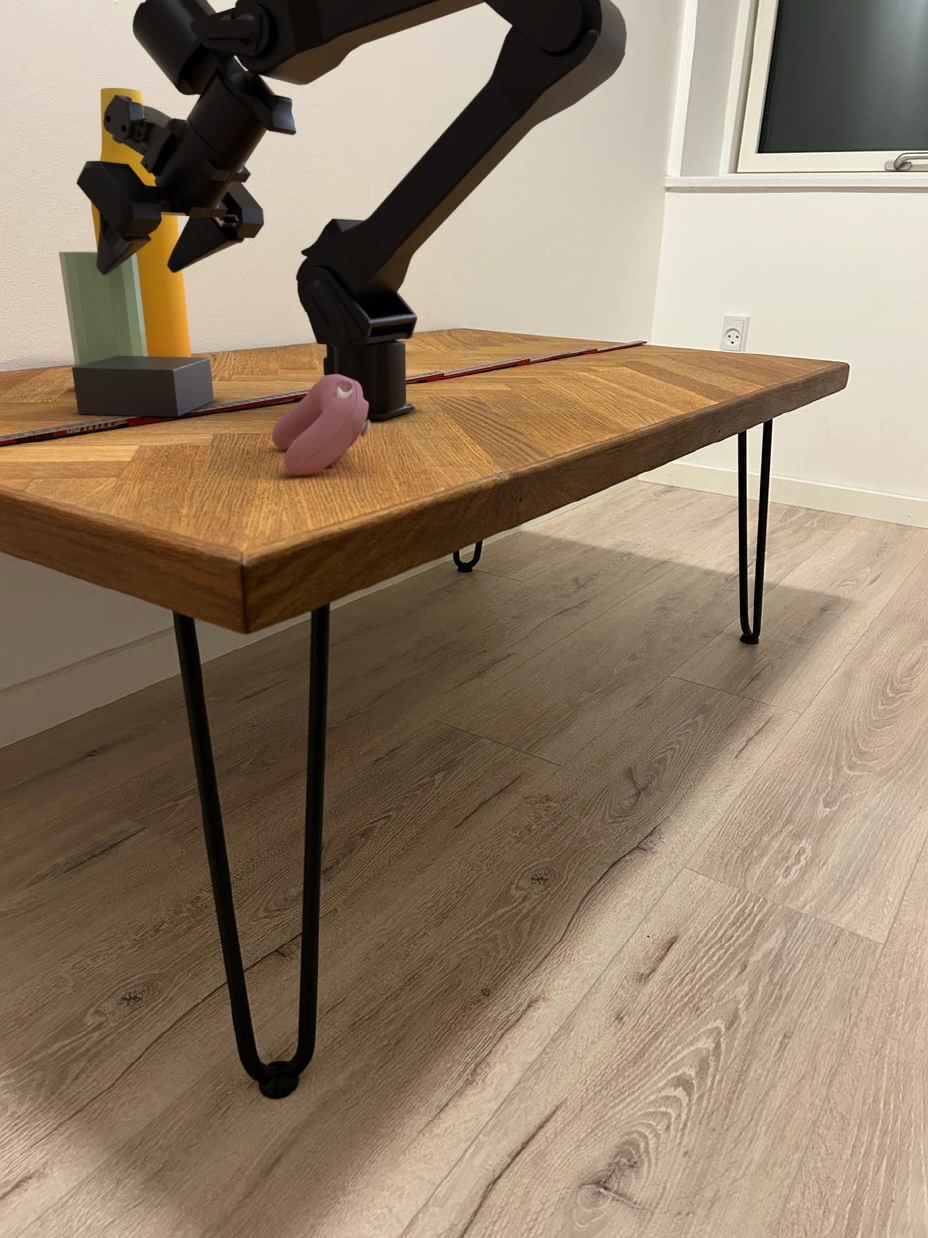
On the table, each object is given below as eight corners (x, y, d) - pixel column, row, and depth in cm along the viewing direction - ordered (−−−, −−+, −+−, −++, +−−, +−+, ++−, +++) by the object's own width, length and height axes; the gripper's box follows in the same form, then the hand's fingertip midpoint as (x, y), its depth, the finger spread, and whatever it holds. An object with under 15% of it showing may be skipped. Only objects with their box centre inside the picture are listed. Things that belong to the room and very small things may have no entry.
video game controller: (344, 498, 60) (389, 400, 59) (280, 471, 58) (325, 369, 57) (322, 465, 69) (361, 380, 68) (266, 441, 67) (304, 352, 66)
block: (214, 400, 87) (210, 357, 86) (178, 417, 79) (173, 369, 77) (123, 398, 88) (117, 355, 86) (78, 414, 80) (71, 367, 78)
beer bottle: (95, 367, 108) (56, 87, 97) (157, 360, 115) (127, 98, 104) (147, 374, 104) (113, 81, 93) (208, 365, 111) (183, 93, 100)
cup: (166, 386, 95) (151, 252, 90) (116, 395, 89) (97, 252, 84) (115, 381, 98) (98, 251, 93) (63, 390, 92) (42, 251, 87)
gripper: (230, 81, 87) (154, 208, 95) (76, 44, 71) (1, 200, 79) (303, 172, 86) (220, 291, 95) (165, 155, 71) (81, 299, 79)
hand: (137, 270), depth 87 cm, fingers open, 9 cm apart
